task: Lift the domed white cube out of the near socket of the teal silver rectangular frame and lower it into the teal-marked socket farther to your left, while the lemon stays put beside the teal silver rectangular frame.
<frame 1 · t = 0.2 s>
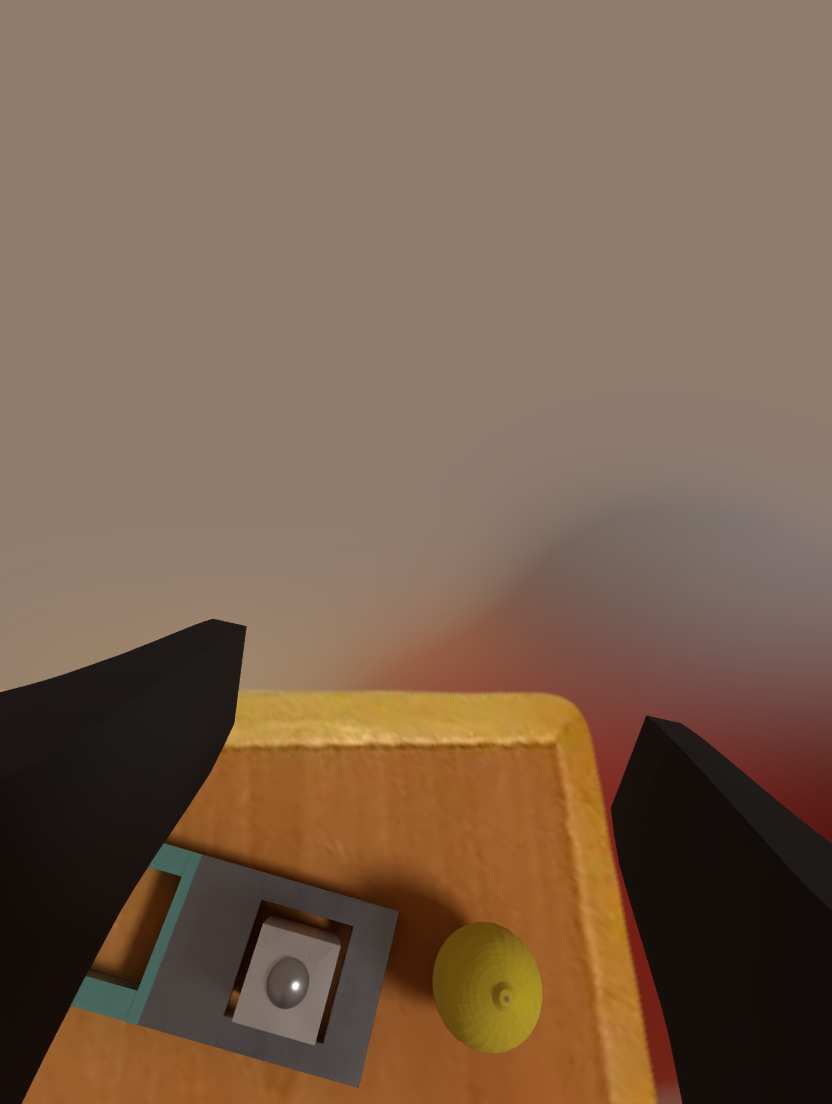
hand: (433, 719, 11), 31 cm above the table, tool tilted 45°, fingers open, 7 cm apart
lemon: (468, 971, 36), on the table
teal silver rectangular frame: (206, 940, 34), on the table
domed white cube: (292, 964, 35), resting in teal silver rectangular frame
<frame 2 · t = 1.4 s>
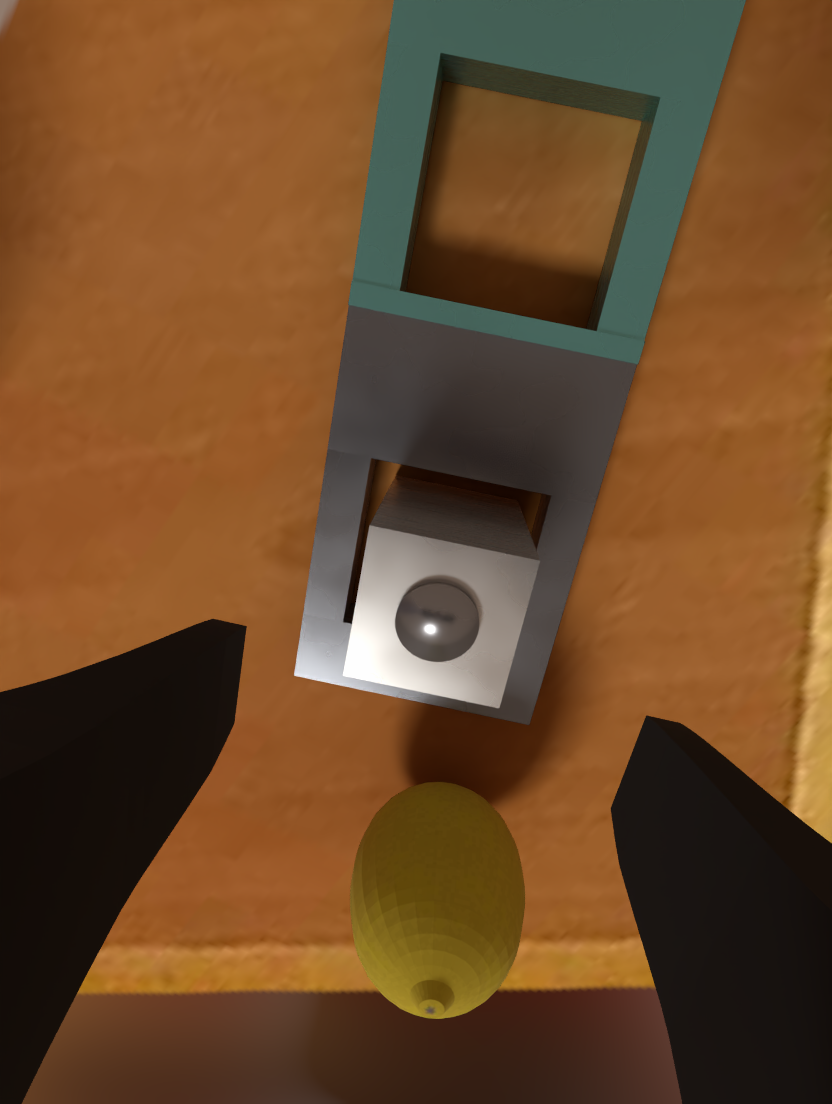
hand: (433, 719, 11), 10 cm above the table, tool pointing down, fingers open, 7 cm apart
lemon: (441, 795, 24), on the table
teal silver rectangular frame: (477, 393, 19), on the table
domed white cube: (443, 545, 20), resting in teal silver rectangular frame
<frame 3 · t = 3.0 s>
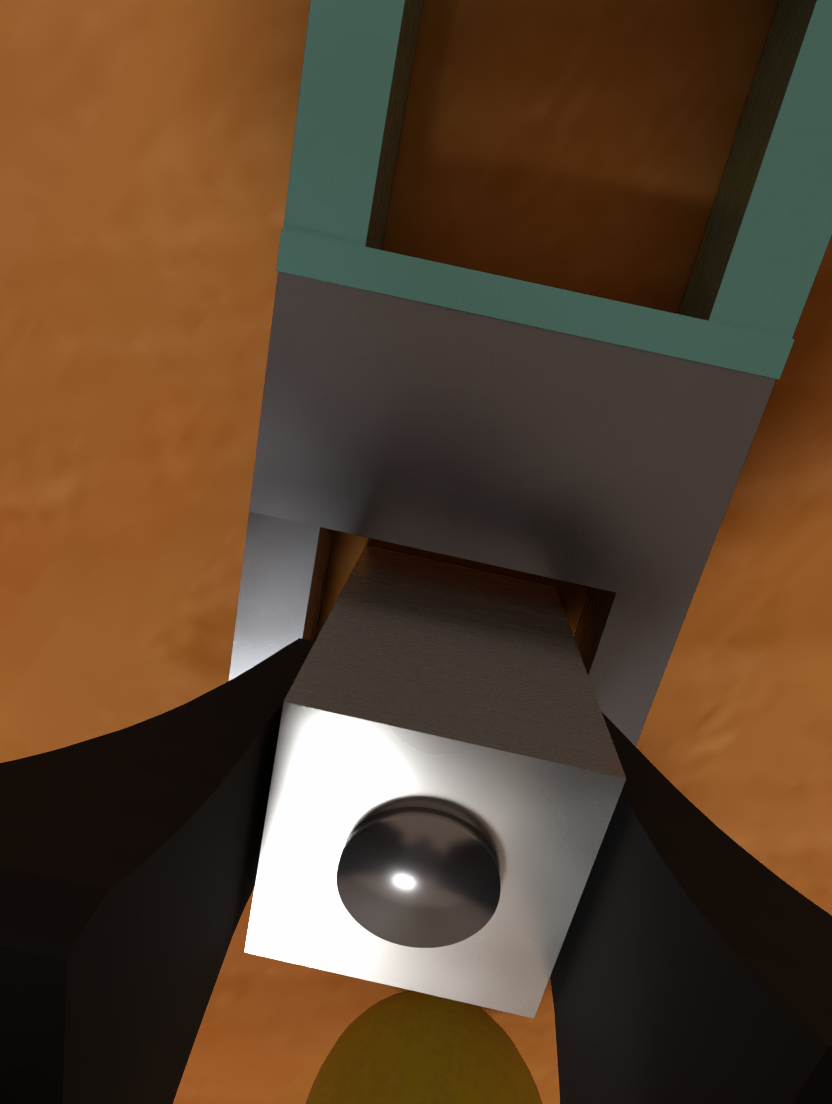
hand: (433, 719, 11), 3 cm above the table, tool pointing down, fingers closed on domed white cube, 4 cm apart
lemon: (433, 984, 17), on the table
teal silver rectangular frame: (495, 421, 12), on the table
domed white cube: (439, 650, 13), resting in teal silver rectangular frame, touching gripper
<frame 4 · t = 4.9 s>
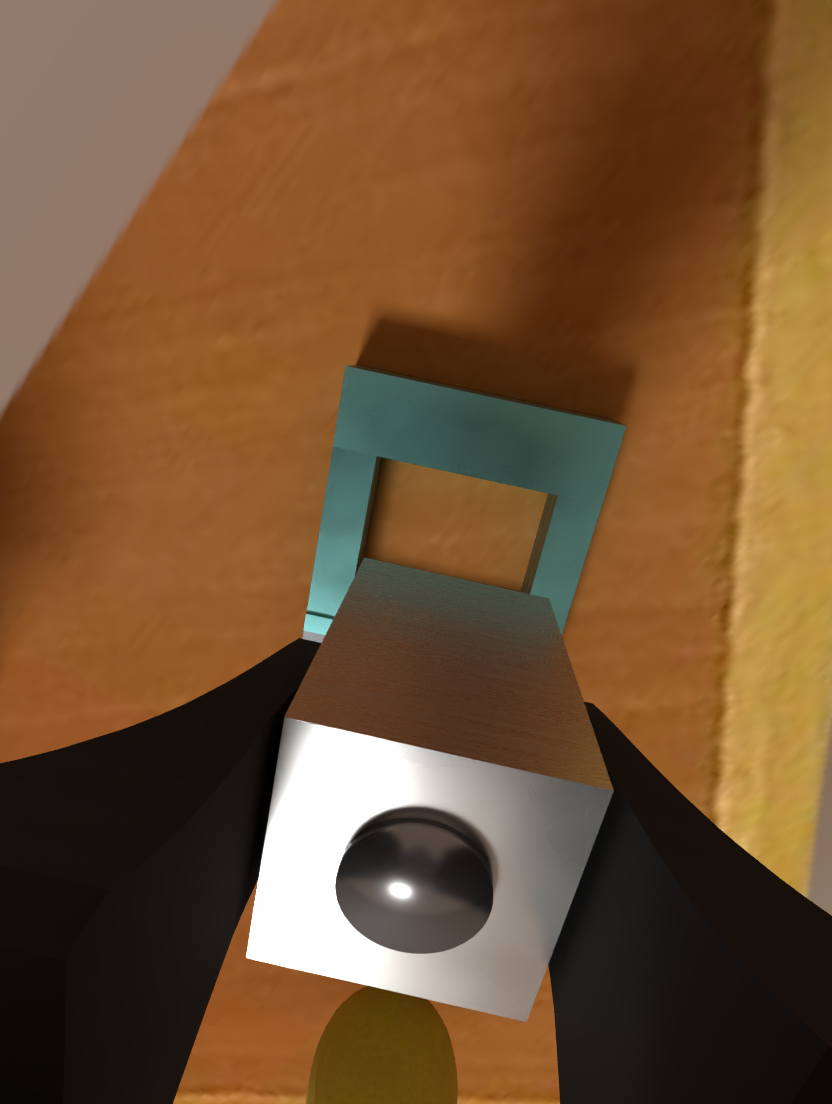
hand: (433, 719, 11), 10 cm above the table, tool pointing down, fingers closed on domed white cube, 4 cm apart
lemon: (395, 979, 27), on the table
teal silver rectangular frame: (418, 676, 22), on the table
domed white cube: (436, 660, 14), point 7 cm above the table, touching gripper
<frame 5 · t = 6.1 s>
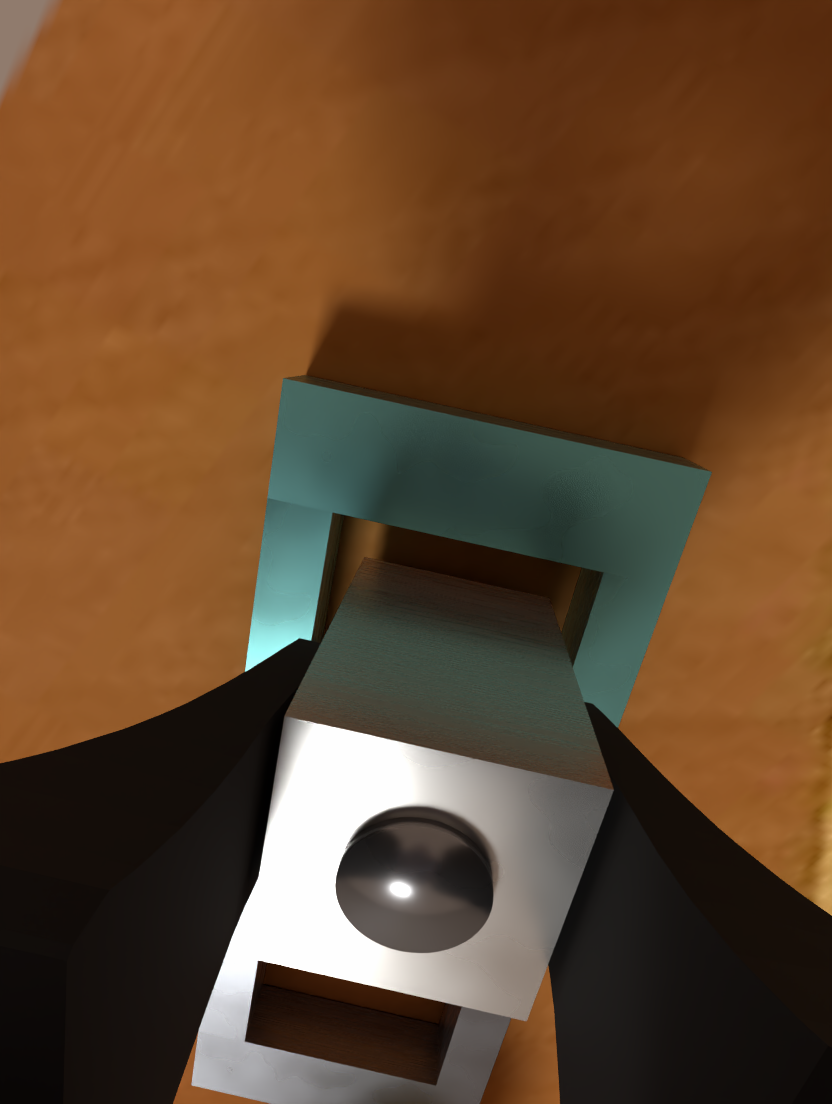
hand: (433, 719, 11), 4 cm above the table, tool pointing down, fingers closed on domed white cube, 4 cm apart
teal silver rectangular frame: (400, 800, 16), on the table
domed white cube: (436, 659, 14), point 1 cm above the table, touching gripper
when the fingers open (4 cm above the table, at t = 6.9 s): domed white cube stays where it is, resting in teal silver rectangular frame.
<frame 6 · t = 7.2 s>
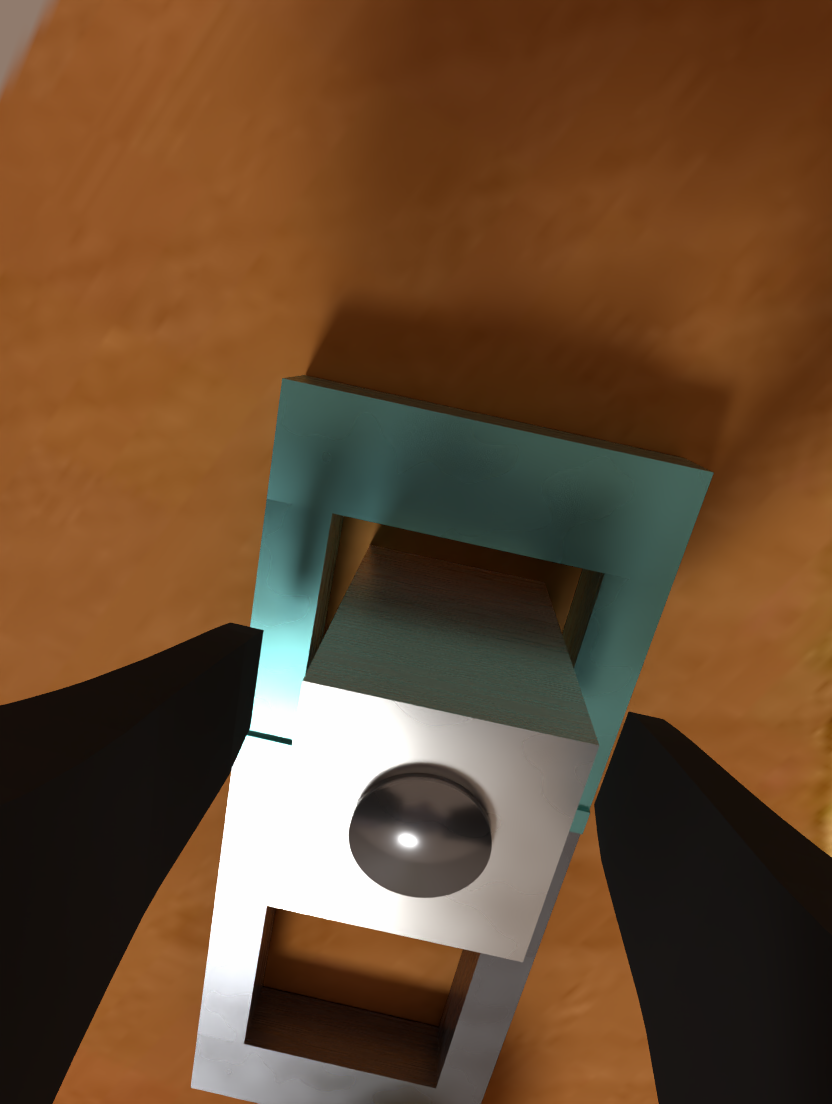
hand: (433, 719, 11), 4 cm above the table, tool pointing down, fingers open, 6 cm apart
teal silver rectangular frame: (400, 802, 16), on the table
domed white cube: (438, 641, 14), resting in teal silver rectangular frame
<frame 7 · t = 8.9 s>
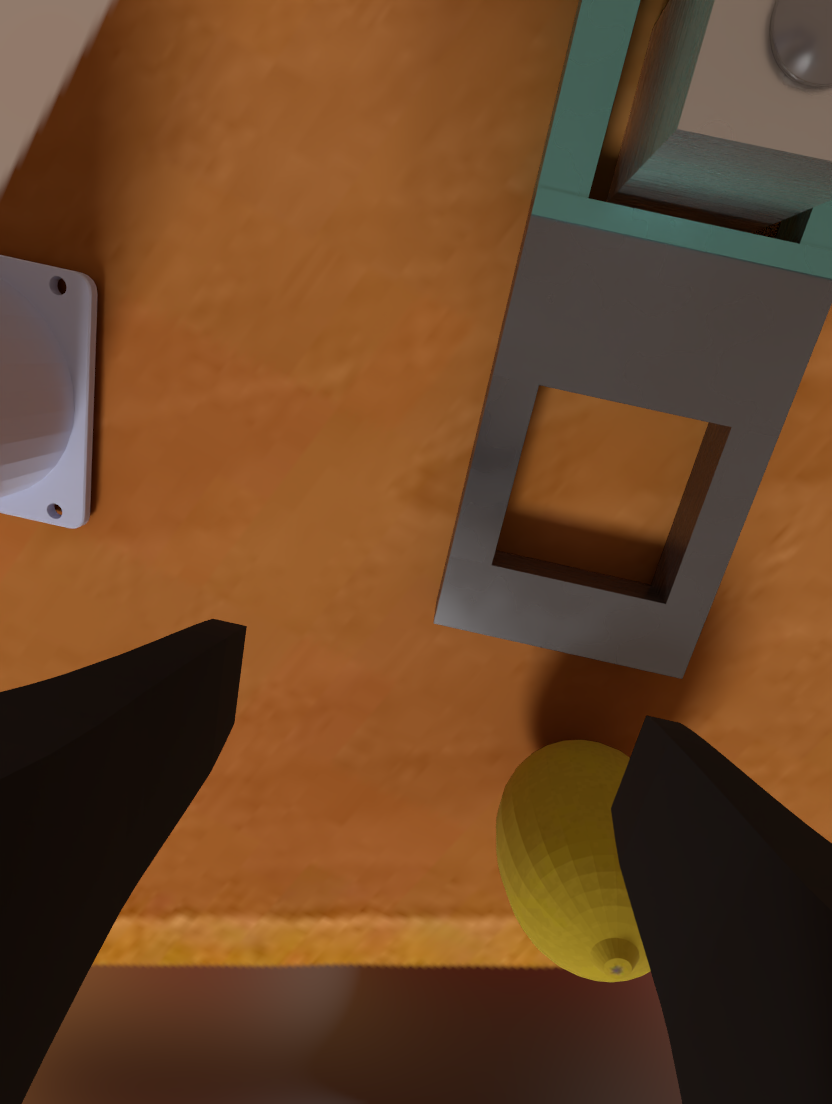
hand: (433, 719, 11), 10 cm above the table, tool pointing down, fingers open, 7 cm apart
lemon: (566, 758, 23), on the table
teal silver rectangular frame: (646, 321, 18), on the table
domed white cube: (702, 135, 16), resting in teal silver rectangular frame
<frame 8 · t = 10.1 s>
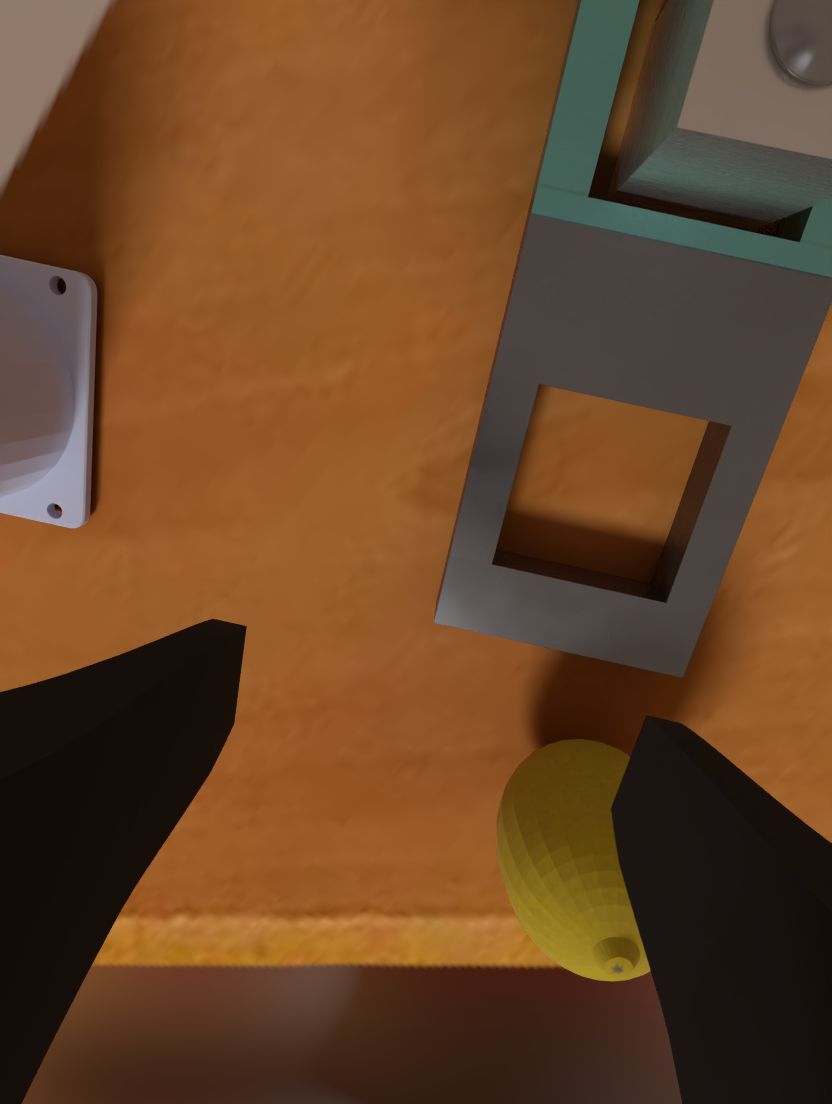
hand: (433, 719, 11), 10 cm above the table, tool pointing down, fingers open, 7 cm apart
lemon: (566, 757, 23), on the table
teal silver rectangular frame: (646, 319, 18), on the table
domed white cube: (702, 134, 16), resting in teal silver rectangular frame
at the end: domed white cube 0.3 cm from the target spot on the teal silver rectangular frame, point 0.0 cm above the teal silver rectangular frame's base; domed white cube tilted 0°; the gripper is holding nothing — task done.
